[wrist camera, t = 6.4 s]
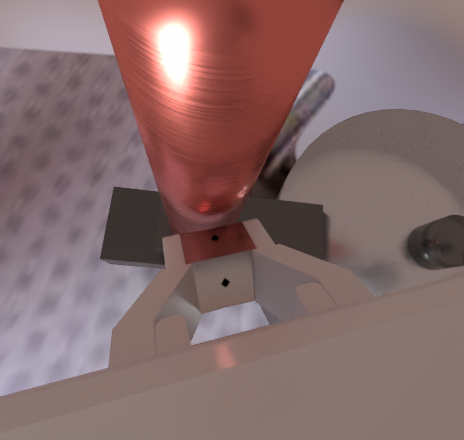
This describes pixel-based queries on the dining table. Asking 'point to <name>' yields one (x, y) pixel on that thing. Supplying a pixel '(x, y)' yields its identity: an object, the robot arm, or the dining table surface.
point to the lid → (267, 130)
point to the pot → (138, 232)
